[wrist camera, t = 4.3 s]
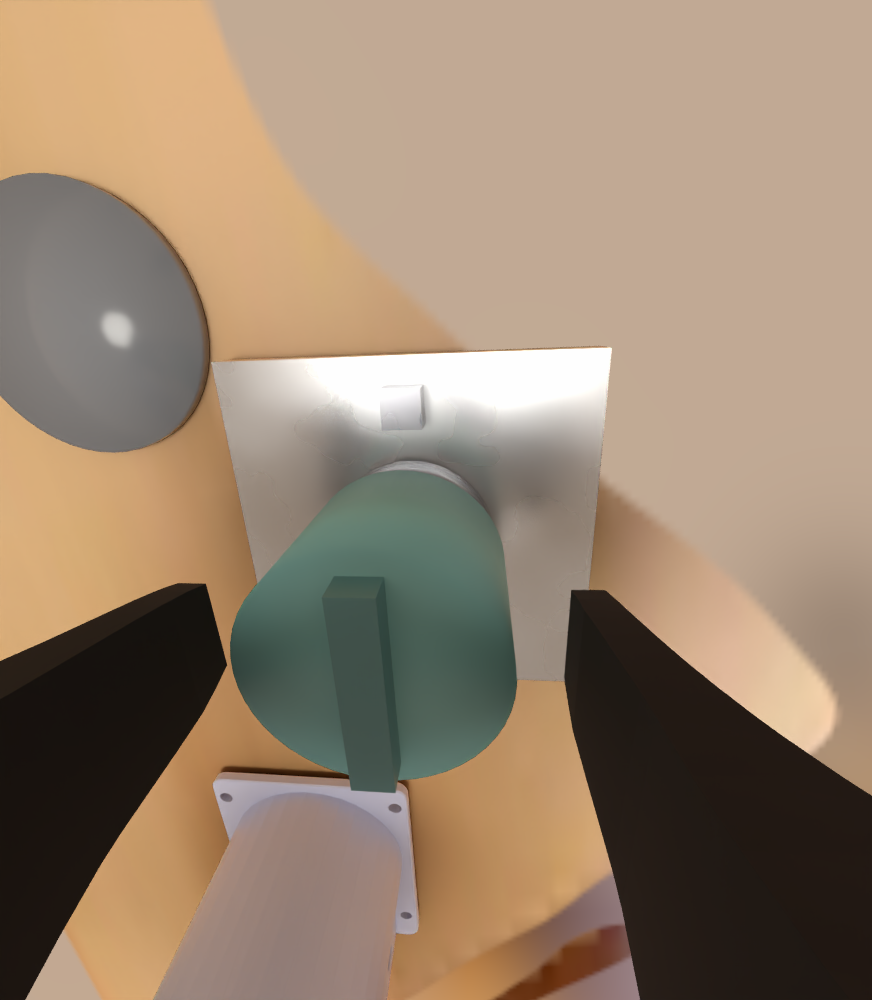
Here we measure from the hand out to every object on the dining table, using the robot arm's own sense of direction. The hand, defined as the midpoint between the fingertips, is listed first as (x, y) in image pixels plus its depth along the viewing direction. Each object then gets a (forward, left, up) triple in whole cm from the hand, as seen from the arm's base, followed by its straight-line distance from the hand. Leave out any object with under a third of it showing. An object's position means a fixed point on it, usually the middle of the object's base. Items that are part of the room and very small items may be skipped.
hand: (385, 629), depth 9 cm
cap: (0, 0, -3) cm, 3 cm away
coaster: (+6, +9, -5) cm, 12 cm away
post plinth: (0, 0, -5) cm, 5 cm away
